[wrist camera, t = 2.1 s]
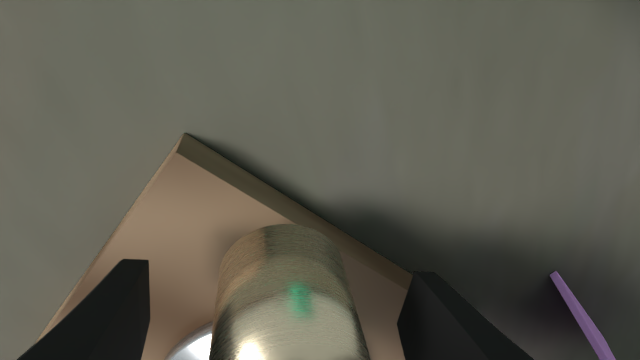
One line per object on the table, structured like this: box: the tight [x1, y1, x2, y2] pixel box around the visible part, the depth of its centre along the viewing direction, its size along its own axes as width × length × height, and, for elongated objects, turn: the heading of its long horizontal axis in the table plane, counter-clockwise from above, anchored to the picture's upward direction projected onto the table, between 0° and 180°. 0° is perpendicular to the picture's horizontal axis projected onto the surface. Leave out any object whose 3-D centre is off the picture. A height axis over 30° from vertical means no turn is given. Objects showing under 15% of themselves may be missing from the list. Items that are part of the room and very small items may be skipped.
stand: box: [35, 133, 413, 360], centre depth 16 cm, size 13×13×2 cm
